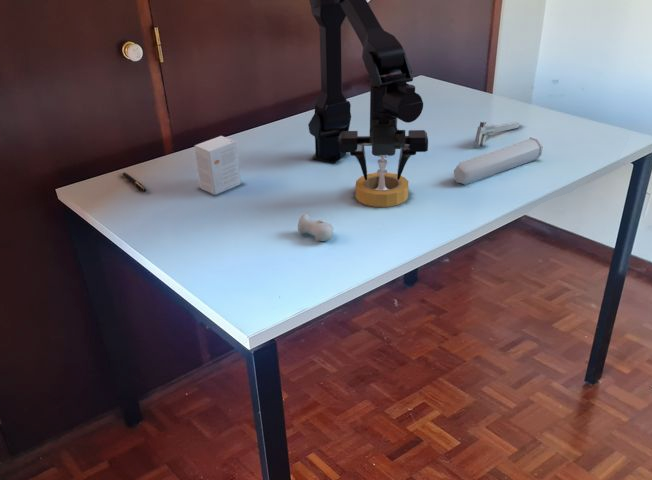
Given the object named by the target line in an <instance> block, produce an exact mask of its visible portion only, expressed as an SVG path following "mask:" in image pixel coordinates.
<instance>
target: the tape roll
mask: <svg viewBox="0 0 652 480" xmlns="http://www.w3.org/2000/svg"><path fill="white" fill-rule="evenodd" d="M384 177H385V187H386V188H387V189H389V190H376V189H377V187H378V184H379V178H380V174H379V173H377V172H372V173H367V180H365V178H364V175H362V176H360V177H358V179H356V180H355V198H356V200H357V201H358V202H359V203H361V204H363V205H365V206H369V207H374V208H390V207H396V206H398V205H401V204H403V203H405V202H406V201H407V200H408V199H409V188H410V187H409V185H410V183H409V180H408V179H407V178H406V177H405V176H402V175H401V176H400V179H399V180H397V173H393V172H387V173H386V174H384Z"/></svg>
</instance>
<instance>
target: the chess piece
mask: <svg viewBox="0 0 652 480" xmlns="http://www.w3.org/2000/svg"><path fill="white" fill-rule="evenodd" d="M387 157H388V155H379V156H378V158H380V159H378V160H377V164H378V168H379V169H378V170H377V172H376V173H379V174H380V178H379V184H378V187H377V189H376V190H389V189H387V188H386V187H385V177H384V174H386V173H388V170H387V169H386V166H387V163H388V161H387V159H386V158H387Z"/></svg>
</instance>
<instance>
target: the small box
mask: <svg viewBox="0 0 652 480" xmlns="http://www.w3.org/2000/svg"><path fill="white" fill-rule="evenodd" d="M237 143H238V142H237V140H234V139H231V138H228V137H226V136H223V135H219V136H217V137H214V138H211V139H208V140H206V141H203V142H200V143H197V144H195V145H194V152H195V157H196V158H195V160H196V167H197V173H198V180H199V187H200V189H201V190H203V191H205V192H207V193H210V194H212V195H214V196H217V195H219V194H221V193H224V192H226V191H228V190H231V189H233V188H235V187H238V186H241V185H242V179H241V171H240V161H239V153H238V144H237Z"/></svg>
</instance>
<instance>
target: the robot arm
mask: <svg viewBox="0 0 652 480" xmlns="http://www.w3.org/2000/svg"><path fill="white" fill-rule="evenodd" d="M308 1H309V4H310V11H311V14H312V16H313V18H314V20H315V22H316V23H317V25H318V29H319V61H320V63H319V65H320V90H321V91H320V93H319V95H318V97H317V99H316V101H315V103H314V113H313V116H312V117H311V119H310V120H309V122H308V125H307V127H308V131H309V132H308V133H309V134H310V135H312V137H314V144H315V145H314V149H315V152H314V153H315V154H314V155H313V156H312V160H314V161H320V162H325V163H331V164H336V163H338V162H339V161H341V159H342V158H344V157H345V156H346V155H347V154H349V155H350V156H352V157H355V158H356V159H357V162H358V163H359V166H360V169H361V172H362V174H363V175H362V176H364V178H365V180H367V174H368V166H367V159H366V149H365V147H370V146H371V154H372V156H374V157H379V155H387V157H392V156H394V155H396V150H400V151H399V158H398V165H397V170H396V172H397V173H396V174H397V180H399V179H400V176H402V174H403V172H404V168H405V166H406V164H407V162H408V160H409V159H410V157H412V156H416V155H417V153H426V152H428V151H429V137H428V132H427V131H426V130H425V129H409V130H408V133H407V135H406V129H399V128H398V120H400V121H402V122H404V123H410V124H411V123H413V122H415V121H416V120H417V119H418V118H419V117H420V116H421V114H422V112H423V109H424V101H423V98H422V96H421V95H420V94H419V93H417V92H416V86H415V85H413V84H410V83H411V82H413V81H414V77H413V75H412V73H413V69H412V67H411V65H410V62H409V61H408V57H407V53H406V51H405V49H404V47H403V45H402V44H401V43H400V41H399V40H398V39H397V37H396V36H395V35H394V34H392V33H390V32H388V31H386V30H384V27H382V25H381V23H380V22H379V20H378V17H377V16H376V14H375V13H374V11H373V10H372V8H371V6H370V4H369V2H368V1H367V0H308ZM346 18H347V20H348V22H349V24H350V26H351V27H352V29H353V31H354V32H355V34H356V36H357V38H358V40H359V42H360V43H361V46H362V54H361V58H362V59H361V60H362V61H363V63H364V64H363V65H364V67H365V70H366V71H367V73H368V75H367V76H366V77H365V81H366V82H367V83H369V85H370V86H369V87H370V88H369V93H370V94H369V135H368V136H367V135H364V136H363V135H360V136H358V135H359V132H358V130H350V125H351V121H352V114H351V106H352V105H351V102H350V101H349V100H348V99H347V98H346V97H345V95H344V93H343V62H342V61H343V59H342V57H343V55H342V54H343V53H342V26H343V23H344V21H345V20H346Z"/></svg>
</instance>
